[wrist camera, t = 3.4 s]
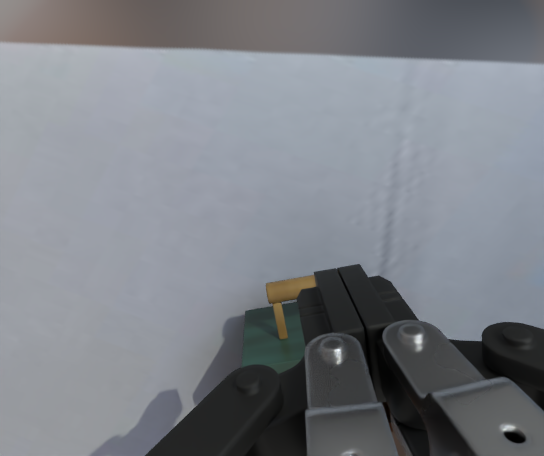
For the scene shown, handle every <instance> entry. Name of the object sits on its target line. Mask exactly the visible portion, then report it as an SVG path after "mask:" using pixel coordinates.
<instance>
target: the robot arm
mask: <svg viewBox="0 0 544 456" xmlns="http://www.w3.org/2000/svg"><path fill="white" fill-rule="evenodd" d="M314 277H315V284H316V287H312V288H306V289H301V291H300V293H299V295H298V297H297V304H298V309H299V315H300V321H301V326H302V332H303V337H304V343H305V354H304V356H303V358H302V359H301V361H300V362H299V363H298V364H296V365H295V366H294V367H292V368H290V369H288V370H286V371H284V372H282V373H280V374H278V373H277V372H276V371H275V370H274V369H273V368H271V367H269V366H266V365H260V364H254V365H248V366H244V367H241V368H239V369H237V370H235V371H234V372H232V373H231V374H229V375H228V376H227V377H226V378H225V379H224V380H223V381H222V382H221V383H220V384H219V385H218V386H217V387H216V388H215V389H214V390H213V391H212V392H211V393H210V394H208V395H207V396H206V397H205V398H204V399H203V400H202V401H201V402H200V403H199V404H198V405H197V406H196V407H195V408H194V409H193V410H192V411H191V412H190V413H189V414H188V415H187V416H186V417H185V418H184V419H183V420H182V421H181V422H179V423H178V424H177V425H176V426H175V427H174V428H173V429H172V430H171V431H170V432H169V433H168V434H167V435H166V436H165V437H164V438H163V439H162V440H161V441H160V442H159V443H158V444H157V445H156V446H155V447H154V448H153V449H151V450H150V451H149V452H148V453H147V454H146V455H145V456H399V455H398V452H397V449H396V446H395V442H394V439H393V436H392V432H391V429H390V426H389V423H388V419H387V416H386V413H385V410H384V407H383V404H382V402H387V404H388V406H389V409H390V417H391V425H392V428H393V431H394V433H395V435H396V437H397V439H398V441H399V443H400V445H401V447H402V449H403V450H404V452H405V454H406V456H544V329H541V328H537V327H534V326H530V325H526V324H522V323H514V322H503V323H496V324H493V325H490V326H488V327H487V328H486V329H484V331H483V333H482V341H459V340H451V339H447V338H446V337H445V335H444V334H443V333H442V332H441V331H440V330H439V329H438V328H436V327H435V326H433V325H431V324H429V323H426V322H423V321H419V320H418V319H417V317H416V316H415V314H414V313H413V312H412V310H411V309H410V308H409V306H408V305H407V304H406V302H405V301H404V299H402V297H401V295H400V294H399V293H398V292H397V290H396V289H395V287H394V286H393V284H392V283H391V282H390V281H388V280H386V279H384V278H382V277H380V276H374V277H367V275H366V273H365V272H364V270H363V269H362V267H361V265H360V264H357V265H351V266H345V267H340V268H337V269H336V268H335V269H329V270H323V271H318V272H314Z"/></svg>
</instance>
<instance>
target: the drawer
mask: <svg viewBox="0 0 544 456" xmlns="http://www.w3.org/2000/svg"><path fill="white" fill-rule="evenodd" d="M312 287H316V284H315V277H314V275H310V276H305V277H299V278H293V279H287V280H282V281H276V282H270V283H266V291H267V297H268V301H269V303H270V304H271V303H272V305H273V306H271V307H265V308H260V309H254V310H248V311H246V312H245V324H244V338H243V352H242V366H241V367H244V366H248V365H254V364H260V365H266V366H269V367H271V368H273V369H274V370H275V371H276V372H277V373H278V374H280V373H282V372H284V371H286V370H288V369H290V368H292V367H294V366H295V365H296V364H298V363H299V362H300V361H301V359H302V358H303V356H304V354H305V343H304V337H303V332H302V326H301V321H300V315H299V309H298V304H297V302H294V303H288V304H283V305H282V303H281V302H283V301H289V300H294V299H297V297H298V295H299V293H300V291H301V289H306V288H312ZM382 404H383V407H384V410H385V413H386V416H387V419H388V423H391V417H390V409H389V406H388V404H387V402H382Z"/></svg>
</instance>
